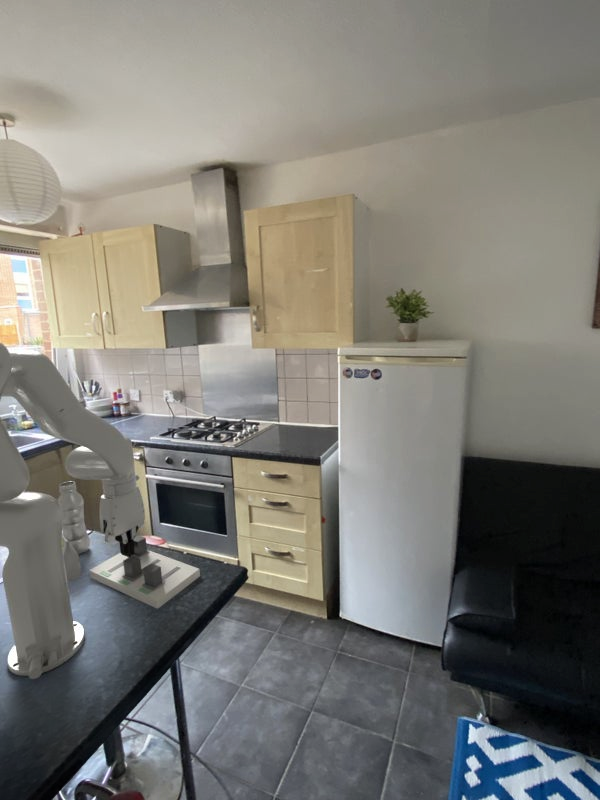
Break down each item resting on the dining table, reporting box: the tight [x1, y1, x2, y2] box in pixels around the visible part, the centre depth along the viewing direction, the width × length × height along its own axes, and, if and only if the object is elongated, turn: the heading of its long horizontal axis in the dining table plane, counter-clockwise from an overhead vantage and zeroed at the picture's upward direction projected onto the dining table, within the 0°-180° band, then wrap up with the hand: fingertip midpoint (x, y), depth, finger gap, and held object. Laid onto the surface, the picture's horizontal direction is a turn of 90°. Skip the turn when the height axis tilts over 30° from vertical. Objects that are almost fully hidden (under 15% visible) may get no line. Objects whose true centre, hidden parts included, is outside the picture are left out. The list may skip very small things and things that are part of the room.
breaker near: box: [142, 564, 165, 590], centre depth 93 cm, size 4×4×4 cm
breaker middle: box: [122, 556, 144, 581], centre depth 96 cm, size 4×4×4 cm
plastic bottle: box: [57, 480, 91, 556], centre depth 110 cm, size 6×7×20 cm
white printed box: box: [62, 533, 82, 583], centre depth 101 cm, size 4×7×10 cm, turn 42°
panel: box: [89, 550, 201, 610], centre depth 100 cm, size 24×13×2 cm, turn 60°
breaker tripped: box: [132, 534, 151, 558], centre depth 106 cm, size 4×4×4 cm
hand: (128, 554), depth 104 cm, fingers closed
